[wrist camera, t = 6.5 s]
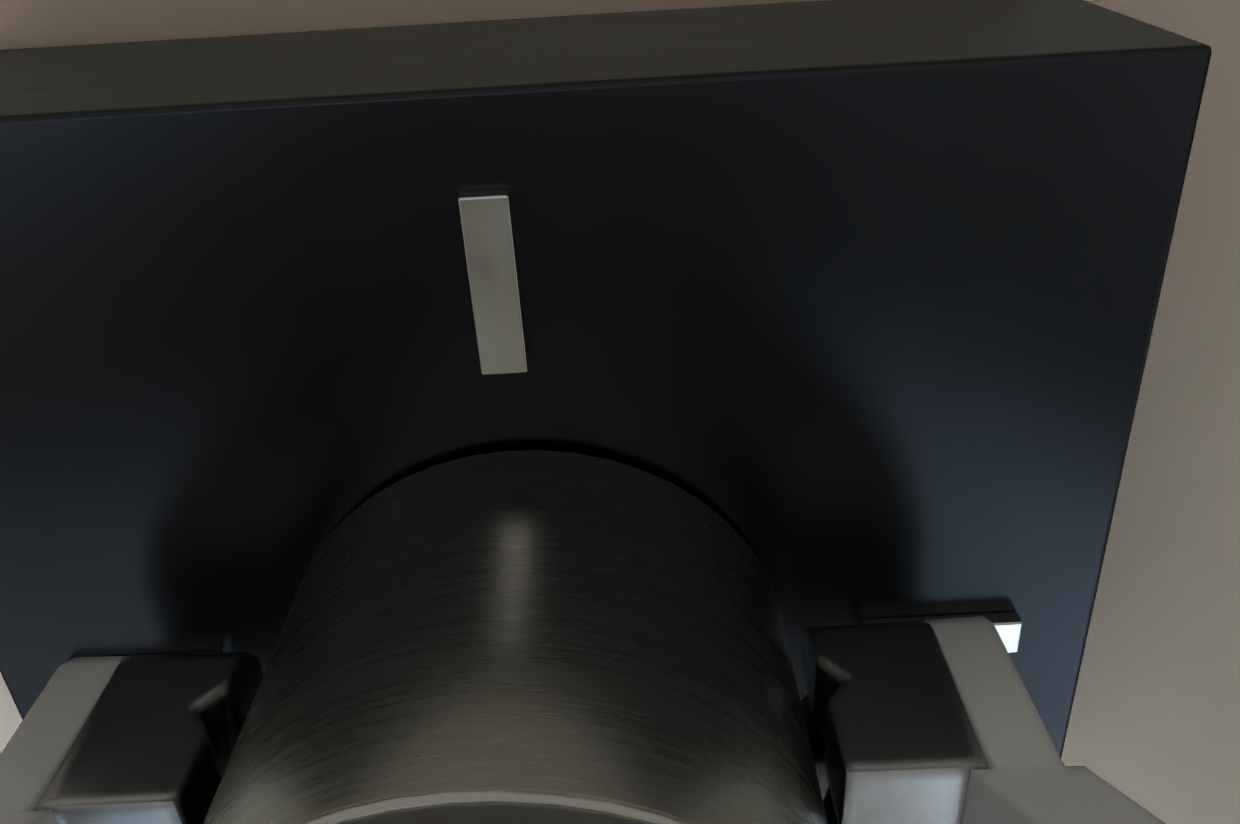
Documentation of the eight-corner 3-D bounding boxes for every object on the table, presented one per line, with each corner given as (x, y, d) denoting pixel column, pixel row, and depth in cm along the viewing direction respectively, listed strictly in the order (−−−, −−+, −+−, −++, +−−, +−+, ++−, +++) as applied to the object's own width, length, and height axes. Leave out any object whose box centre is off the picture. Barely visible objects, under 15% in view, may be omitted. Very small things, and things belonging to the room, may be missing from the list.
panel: (945, 756, 14) (1024, 976, 12) (230, 790, 15) (143, 1014, 12) (1050, -14, 10) (1229, 49, 7) (-23, 50, 10) (-270, 137, 7)
